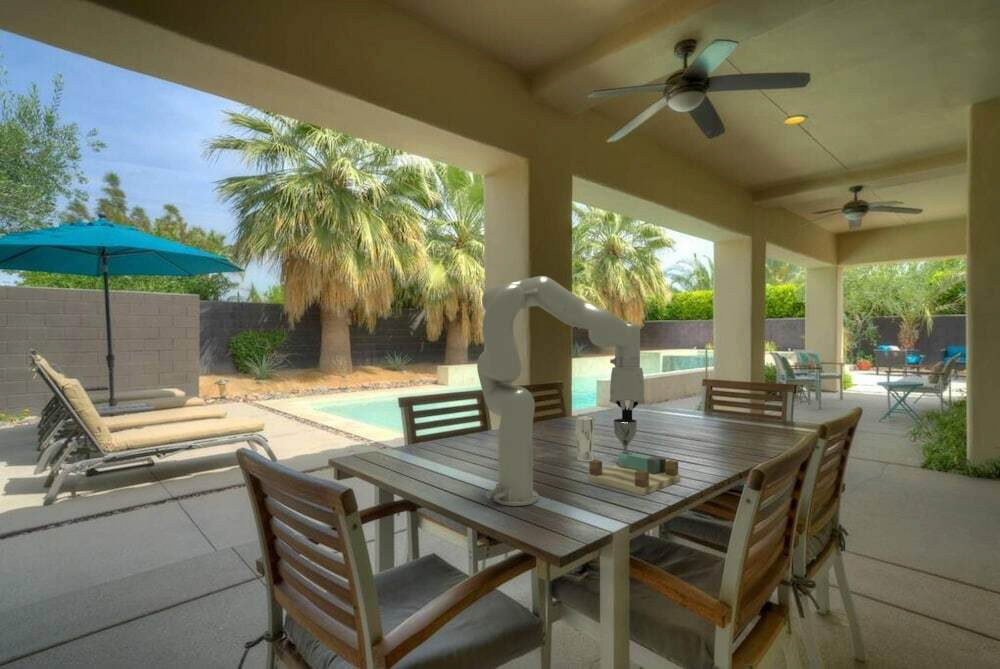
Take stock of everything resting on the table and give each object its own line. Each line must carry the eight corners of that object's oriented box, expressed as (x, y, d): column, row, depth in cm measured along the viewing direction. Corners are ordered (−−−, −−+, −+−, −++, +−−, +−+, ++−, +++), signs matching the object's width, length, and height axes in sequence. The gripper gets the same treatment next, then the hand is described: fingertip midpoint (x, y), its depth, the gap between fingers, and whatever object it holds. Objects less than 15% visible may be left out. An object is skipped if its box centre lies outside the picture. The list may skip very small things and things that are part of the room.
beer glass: (593, 462, 180) (593, 420, 180) (574, 461, 183) (573, 419, 183) (596, 457, 187) (596, 416, 187) (577, 456, 189) (577, 416, 189)
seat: (644, 495, 144) (643, 474, 144) (587, 480, 159) (587, 461, 159) (680, 481, 157) (680, 461, 157) (625, 468, 172) (625, 450, 172)
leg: (661, 471, 160) (660, 456, 160) (653, 473, 157) (653, 459, 157) (624, 463, 170) (623, 449, 170) (616, 465, 167) (616, 451, 167)
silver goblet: (641, 462, 179) (640, 420, 179) (630, 467, 173) (630, 423, 173) (620, 459, 185) (620, 417, 185) (609, 463, 179) (609, 420, 179)
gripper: (601, 363, 157) (601, 422, 157) (652, 364, 153) (651, 425, 153) (604, 362, 164) (604, 419, 164) (652, 363, 160) (652, 421, 160)
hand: (627, 422), depth 158 cm, fingers closed
